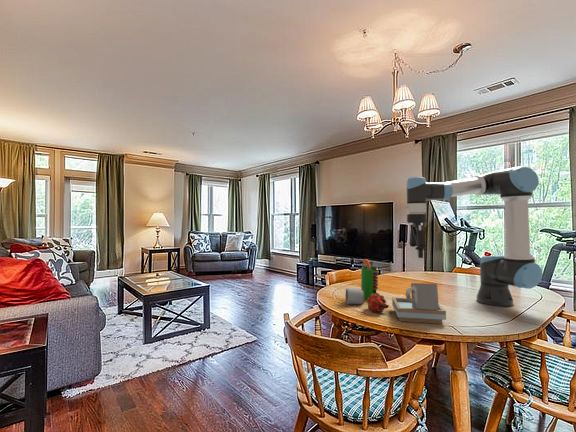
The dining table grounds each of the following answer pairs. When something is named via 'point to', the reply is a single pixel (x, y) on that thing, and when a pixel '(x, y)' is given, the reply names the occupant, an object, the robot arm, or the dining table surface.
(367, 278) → the green and brown toy
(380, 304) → the dragon fruit
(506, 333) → the dining table surface
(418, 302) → the coffee mug
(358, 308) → the dining table surface
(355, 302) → the ceramic mug
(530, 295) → the dining table surface
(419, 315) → the picture frame
